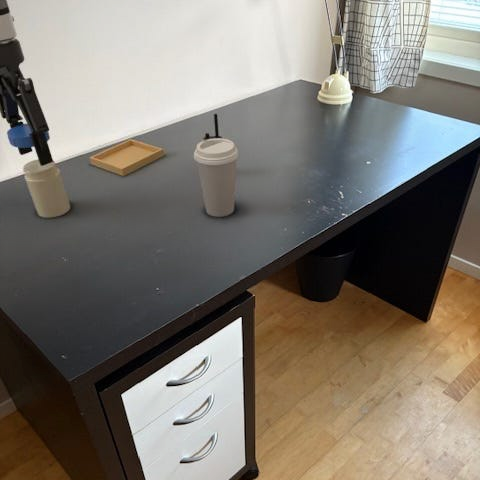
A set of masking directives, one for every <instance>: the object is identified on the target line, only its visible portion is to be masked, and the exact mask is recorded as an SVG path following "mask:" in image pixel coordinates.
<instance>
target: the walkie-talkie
mask: <svg viewBox="0 0 480 480" xmlns="http://www.w3.org/2000/svg"><path fill="white" fill-rule="evenodd" d="M213 122H214V135H210V133H208V132H206V133H205V134H204V135H205V136H204V137H203V140H202V141H204V140H208V139H214V138H221V139H223V137H222V136H221V135H220V134H219V119H218V113H214V114H213Z"/></svg>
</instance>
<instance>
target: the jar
mask: <svg viewBox="0 0 480 480" xmlns="http://www.w3.org/2000/svg"><path fill="white" fill-rule="evenodd" d="M22 169H23V173H24V180H25V184H26V185H27V188H28V191H29V194H30V196H31V199H32V202H33V205H34V207H35V210H36V213H37V215H38V216H39V217H42V218H46V219H47V218H49V219H50V218H51V219H52V218H57V217H61V216H62V215H66V213H68V212H69V211H70V209H71V204H70V200H69V196H68V193H67V191H66V187H65V185H64V180H63V178H62V175H61V171H60V169H59V168H58V167H57V163H56V162H55V160H53V162H51V163H49V164H46V165H43V166H41V165H40V163H39V159H38V158H37V159H33V160H30V161H28V162H27V163H25V164H24V165H23V167H22Z"/></svg>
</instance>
